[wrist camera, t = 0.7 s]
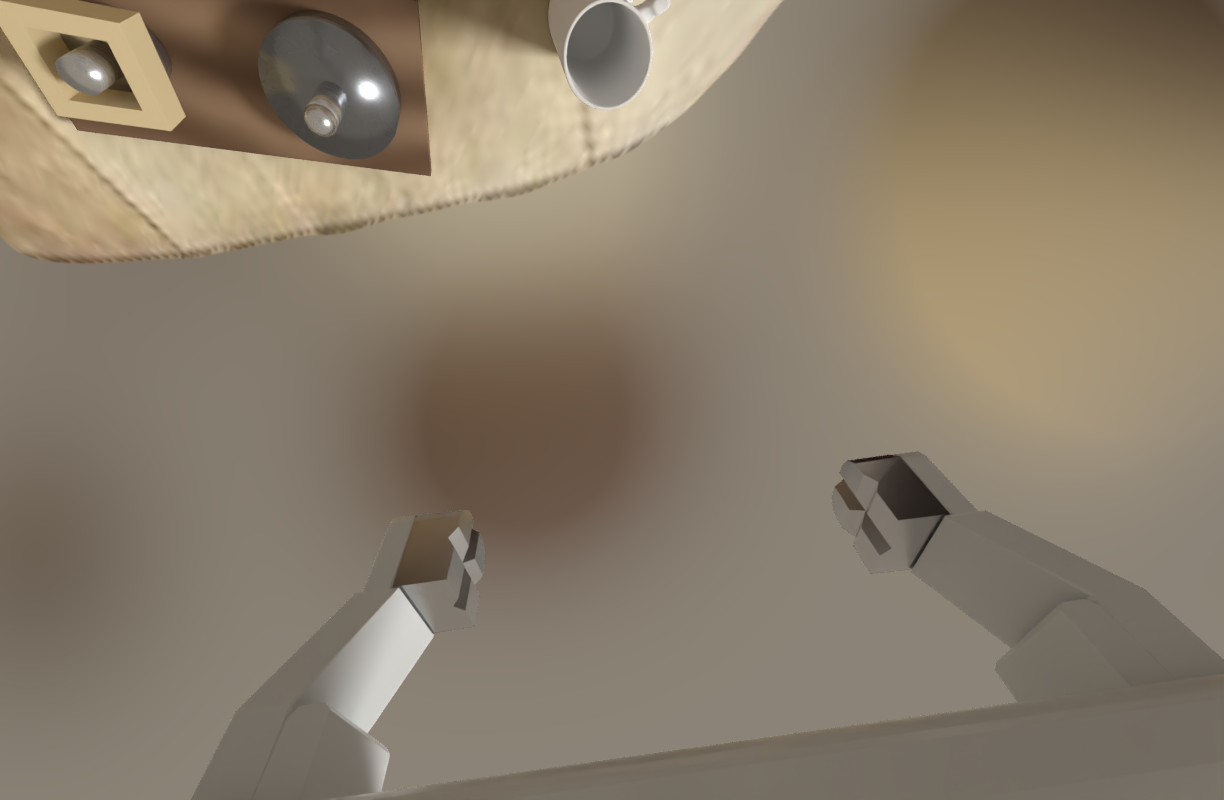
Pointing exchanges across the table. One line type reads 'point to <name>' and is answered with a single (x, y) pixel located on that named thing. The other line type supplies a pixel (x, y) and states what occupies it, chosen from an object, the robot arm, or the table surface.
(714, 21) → the table surface
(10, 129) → the table surface
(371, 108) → the hub
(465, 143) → the table surface
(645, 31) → the mug
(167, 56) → the silver knob
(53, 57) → the collar
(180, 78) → the base board
